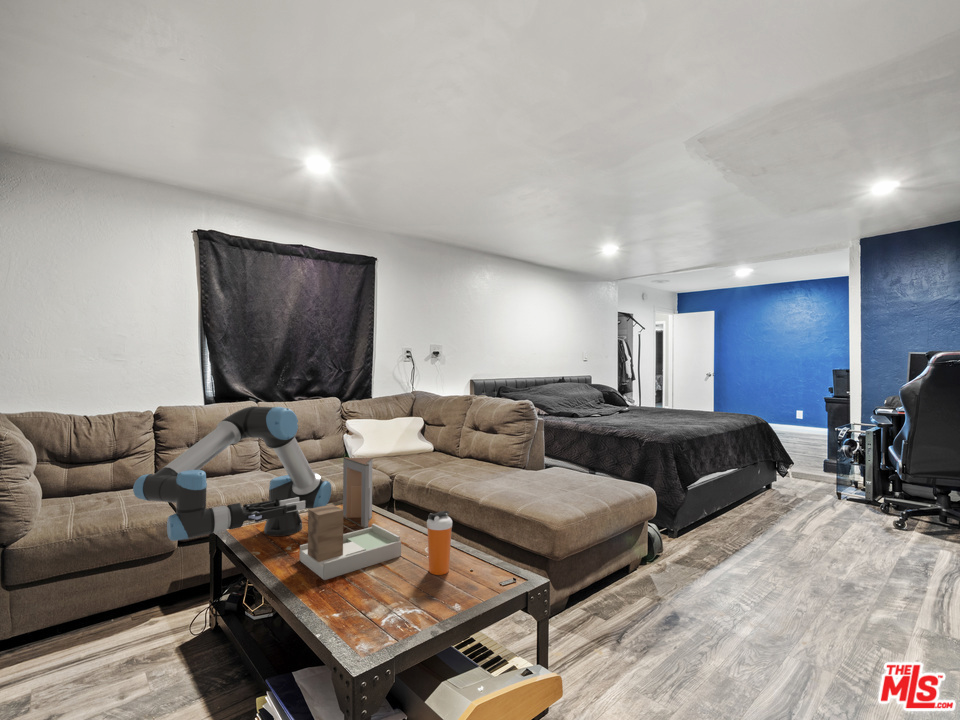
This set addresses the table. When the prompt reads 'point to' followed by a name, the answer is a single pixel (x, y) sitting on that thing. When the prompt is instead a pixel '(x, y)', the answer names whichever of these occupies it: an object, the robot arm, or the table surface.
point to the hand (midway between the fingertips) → (301, 503)
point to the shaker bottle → (439, 542)
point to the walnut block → (325, 532)
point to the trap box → (356, 552)
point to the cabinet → (357, 490)
